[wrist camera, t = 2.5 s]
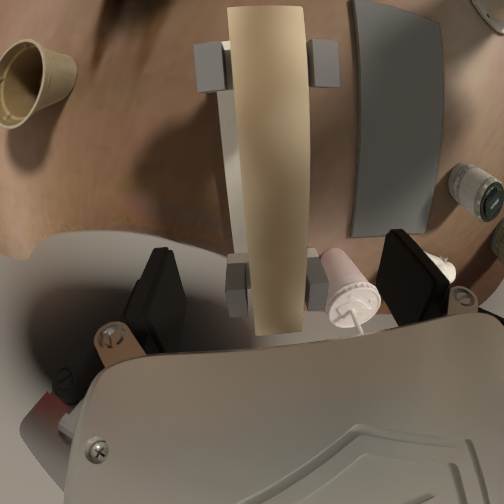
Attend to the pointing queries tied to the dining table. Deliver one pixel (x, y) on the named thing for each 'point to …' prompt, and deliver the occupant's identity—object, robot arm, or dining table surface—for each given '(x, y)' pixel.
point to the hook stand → (221, 81)
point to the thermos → (498, 241)
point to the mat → (396, 118)
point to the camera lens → (476, 191)
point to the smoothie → (348, 292)
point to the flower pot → (32, 81)
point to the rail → (273, 157)
